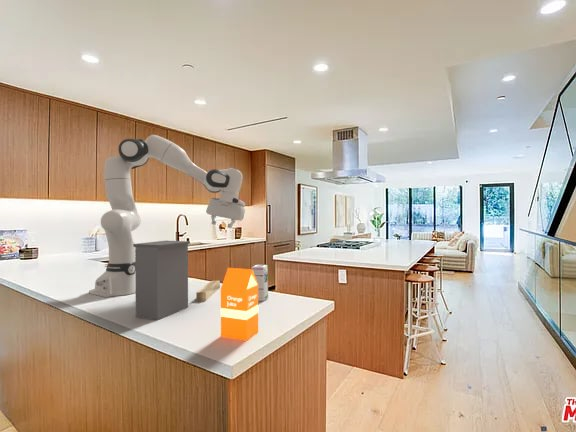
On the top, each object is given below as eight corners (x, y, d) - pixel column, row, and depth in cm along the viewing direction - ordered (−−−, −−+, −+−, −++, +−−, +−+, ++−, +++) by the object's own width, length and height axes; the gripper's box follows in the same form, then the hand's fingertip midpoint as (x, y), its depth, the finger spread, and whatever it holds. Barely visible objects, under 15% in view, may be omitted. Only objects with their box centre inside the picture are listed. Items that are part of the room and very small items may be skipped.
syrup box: (264, 301, 132) (264, 266, 132) (251, 300, 134) (251, 266, 134) (268, 297, 138) (268, 264, 138) (255, 297, 139) (255, 264, 139)
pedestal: (133, 316, 113) (133, 244, 113) (165, 304, 128) (165, 240, 128) (159, 320, 109) (159, 245, 109) (190, 307, 124) (189, 241, 123)
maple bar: (196, 301, 133) (196, 292, 133) (211, 288, 157) (211, 280, 157) (205, 301, 133) (205, 292, 133) (219, 288, 157) (219, 280, 157)
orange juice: (246, 341, 91) (246, 271, 91) (220, 336, 94) (220, 269, 94) (258, 331, 98) (258, 267, 98) (234, 327, 101) (233, 265, 101)
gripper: (207, 195, 161) (200, 221, 159) (243, 201, 154) (235, 228, 152) (214, 198, 167) (207, 223, 165) (248, 204, 160) (241, 230, 158)
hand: (221, 226), depth 158 cm, fingers open, 8 cm apart
